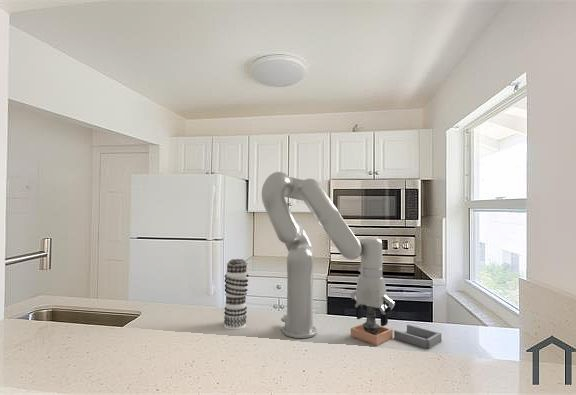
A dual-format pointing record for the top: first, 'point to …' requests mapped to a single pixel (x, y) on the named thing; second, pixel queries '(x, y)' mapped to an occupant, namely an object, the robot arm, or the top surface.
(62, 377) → the top surface
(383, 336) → the dish
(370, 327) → the chess piece
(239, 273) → the striped cylinder tower
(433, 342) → the cubby
